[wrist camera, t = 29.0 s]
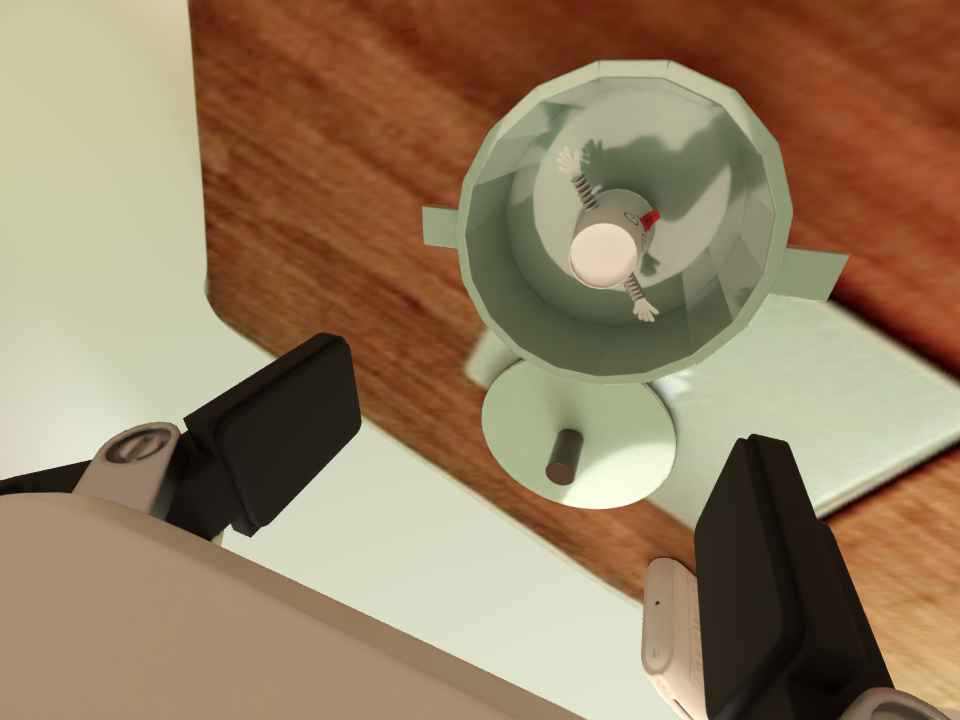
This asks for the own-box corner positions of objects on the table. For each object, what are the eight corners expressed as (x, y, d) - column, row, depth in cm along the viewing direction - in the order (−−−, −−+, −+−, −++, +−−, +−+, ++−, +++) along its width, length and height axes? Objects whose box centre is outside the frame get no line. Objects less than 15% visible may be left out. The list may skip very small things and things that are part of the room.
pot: (470, 73, 28) (408, 60, 21) (867, 75, 21) (961, 57, 15) (467, 303, 37) (423, 345, 30) (746, 355, 30) (769, 424, 24)
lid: (488, 330, 38) (463, 362, 33) (704, 374, 32) (710, 419, 28) (482, 470, 47) (462, 510, 42) (648, 522, 42) (645, 574, 37)
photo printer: (639, 561, 45) (631, 686, 35) (672, 551, 43) (675, 683, 33) (701, 620, 46) (711, 759, 36) (738, 614, 43) (760, 761, 34)
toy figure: (695, 277, 29) (705, 328, 22) (619, 309, 32) (606, 363, 25) (620, 114, 26) (603, 113, 19) (543, 166, 29) (506, 182, 22)
